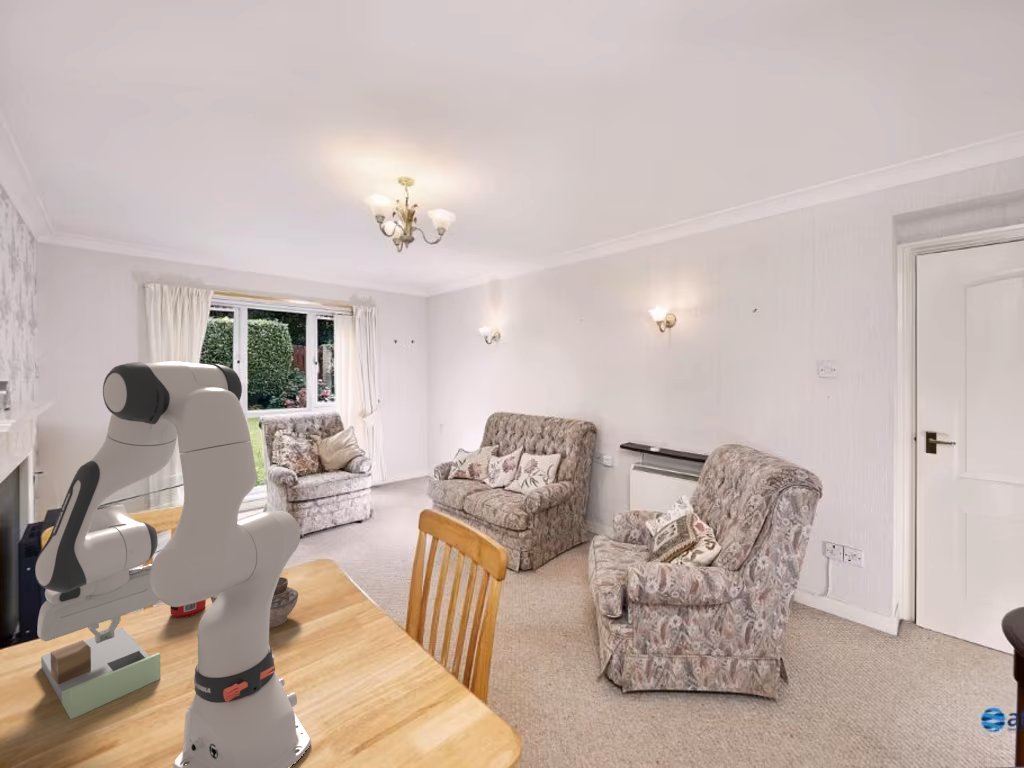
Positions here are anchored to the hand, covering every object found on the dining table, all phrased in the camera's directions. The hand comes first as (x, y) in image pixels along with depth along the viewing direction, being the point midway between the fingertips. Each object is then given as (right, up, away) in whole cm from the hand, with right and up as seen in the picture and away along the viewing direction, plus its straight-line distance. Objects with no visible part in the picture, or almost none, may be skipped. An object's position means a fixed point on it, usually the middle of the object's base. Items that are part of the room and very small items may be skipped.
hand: (104, 639), depth 99 cm
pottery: (+20, -7, +22) cm, 31 cm away
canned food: (+1, -7, +25) cm, 26 cm away
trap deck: (0, -7, -1) cm, 7 cm away
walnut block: (-3, -4, -5) cm, 7 cm away
